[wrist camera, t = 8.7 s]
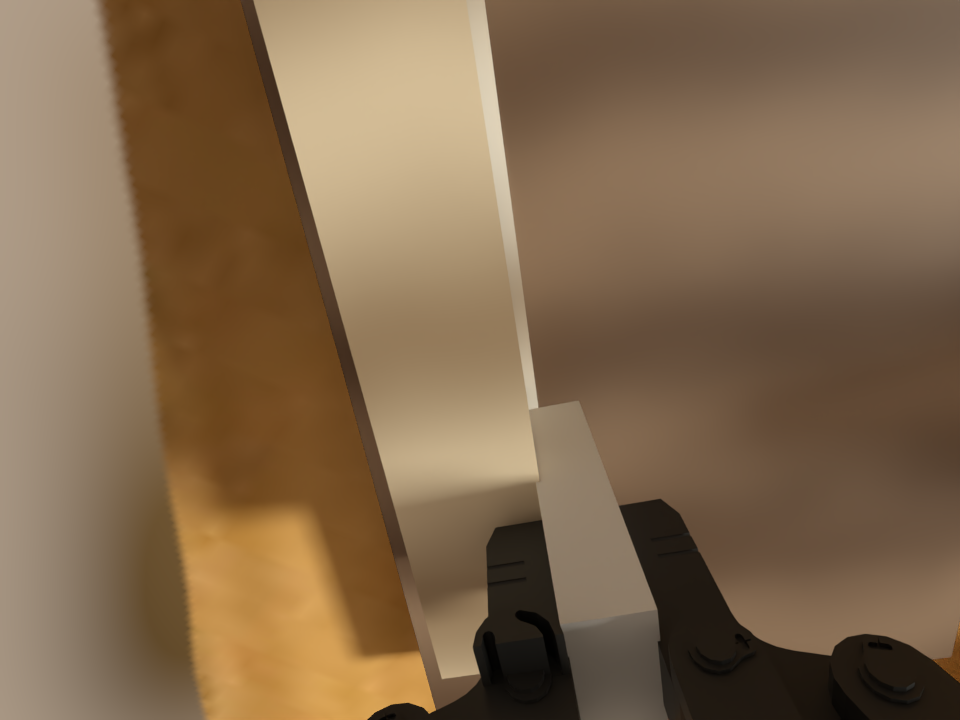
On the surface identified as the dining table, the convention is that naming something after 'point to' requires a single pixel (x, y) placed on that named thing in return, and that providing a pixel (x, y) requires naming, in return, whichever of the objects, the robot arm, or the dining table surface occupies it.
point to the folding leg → (416, 277)
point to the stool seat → (734, 287)
